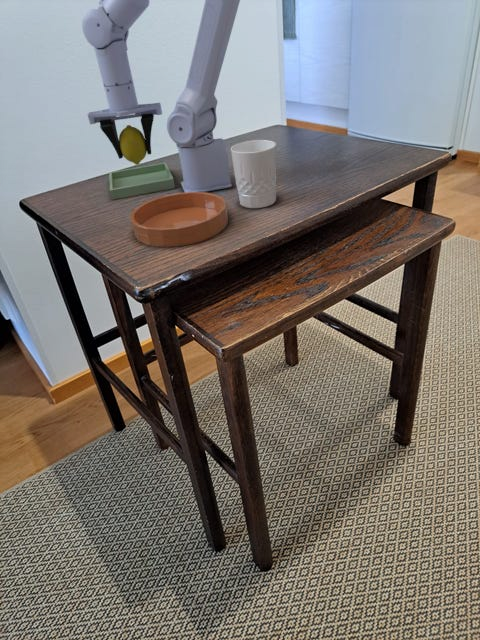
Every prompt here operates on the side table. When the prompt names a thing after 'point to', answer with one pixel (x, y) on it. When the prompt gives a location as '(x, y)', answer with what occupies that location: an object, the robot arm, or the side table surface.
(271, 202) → the white cup
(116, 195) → the tray
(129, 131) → the lemon
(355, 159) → the side table surface
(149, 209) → the pan
